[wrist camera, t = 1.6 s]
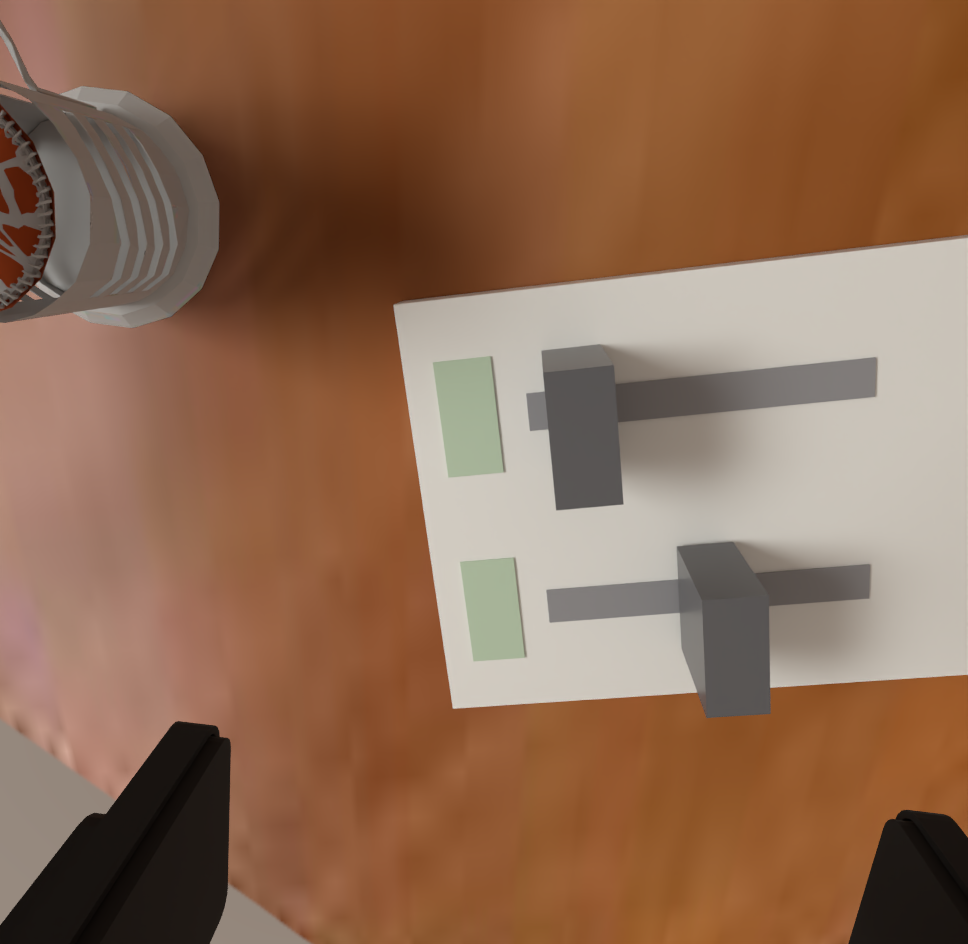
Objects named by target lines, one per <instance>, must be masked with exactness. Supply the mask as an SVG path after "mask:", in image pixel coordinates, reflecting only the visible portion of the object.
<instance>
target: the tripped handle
mask: <svg viewBox="0 0 968 944" xmlns="http://www.w3.org/2000/svg"><path fill="white" fill-rule="evenodd" d="M677 566H678V586H679V607H680V627H681V647H682V651H683V654H684V657H685V660H686V662H687V665H688V668H689V671H690V673H691V676H692V679H693V682H694V684H695V687H696V690H697V693H698V695H699V698H700V701H701V704H702V706H703V709H704V712H705V715H706V717H707V718H711V717H727V716H743V715H759V714H770V639H769V595H768V593H767V592H766V590H765V589H764V587H763V586H762V584H761V583H760V581H759V580H758V578H757V577H756V575H755V574H754V572H753V571H752V569H751V568H750V566H749V565H748V563H747V562H746V560H745V559H744V557H743V556H742V554H741V553H740V551H739V550H738V548H737V547H736V545H735V544H734V542H723V543H711V544H699V545H687V546H677Z"/></svg>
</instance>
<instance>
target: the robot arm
mask: <svg viewBox="0 0 968 944" xmlns="http://www.w3.org/2000/svg"><path fill="white" fill-rule="evenodd" d="M230 756H231V744H230V740H229V739H228V738H223V737H219V730H218V727H216V726H213V725H205V724H197V723H188V722H180V721H178V722H175V723H174V724H173V725H172V726H171V727H170V729H169V730H168V731H167V733H166V734H165V735H164V737H163V738H162V739H161V741H160V742H159V743H158V745H157V746H156V747H155V749H154V750H153V751H152V753H151V754H150V755H149V757H148V758H147V760H146V761H145V762H144V764H143V765H142V766H141V768H140V769H139V770H138V772H137V773H136V774H135V776H134V777H133V778H132V780H131V781H130V782H129V784H128V785H127V786H126V788H125V789H124V790H123V792H122V793H121V795H120V796H119V797H118V799H117V800H116V801H115V803H114V804H113V805H112V807H111V808H110V809H109V811H108V812H107V813H106V814H99V813H93V814H91V815H89V816H87V817H86V818H85V819H84V820H83V821H82V822H81V823H80V824H79V825H78V826H77V827H76V829H75V830H74V831H73V832H72V834H71V835H70V836H69V838H68V839H67V840H66V842H65V843H64V844H63V845H62V847H61V848H60V849H59V851H58V852H57V853H56V854H55V856H54V857H53V858H52V860H51V861H50V862H49V863H48V865H47V866H46V867H45V868H44V870H43V871H42V872H41V874H40V875H39V876H38V878H37V879H36V880H35V881H34V883H33V884H32V885H31V886H30V888H29V889H28V890H27V892H26V893H25V894H24V896H23V897H22V898H21V899H20V901H19V902H18V903H17V905H16V906H15V907H14V908H13V910H12V911H11V912H10V913H9V915H8V916H7V917H6V919H5V920H4V921H3V922H2V924H1V925H0V944H210V941H211V939H212V937H213V935H214V932H215V930H216V928H217V926H218V924H219V921H220V919H221V916H222V913H223V910H224V907H225V902H226V897H227V889H228V848H229V802H230ZM849 944H968V837H967V836H966V835H965V834H964V832H963V831H962V830H961V828H960V827H959V826H958V825H957V823H956V822H955V821H954V820H953V819H952V818H951V817H949V816H947V815H944V814H937V813H928V812H920V811H912V810H903V811H901V812H900V813H899V814H898V815H897V817H896V819H890V820H888V821H887V822H886V824H885V826H884V828H883V831H882V835H881V838H880V841H879V845H878V848H877V851H876V855H875V858H874V861H873V864H872V868H871V871H870V874H869V878H868V881H867V884H866V888H865V891H864V894H863V897H862V901H861V904H860V907H859V911H858V914H857V917H856V921H855V924H854V927H853V930H852V934H851V937H850V940H849Z"/></svg>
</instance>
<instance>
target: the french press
mask: <svg viewBox="0 0 968 944" xmlns="http://www.w3.org/2000/svg"><path fill="white" fill-rule="evenodd" d="M0 36H1V37H2V39H3V40H4V42H5V44H6V46H7V48H8V50H9V51H10V53H11V55H12V57H13V59H14V61H15V63H16V65H17V67H18V69H19V71H20V73H21V75H22V77H23V79H24V81H25V83H26V84H27V86H28V87H29V89H26V88H23V87H20V86H16V85H13V84H10V83H6V82H3V81H0V87H2V88H5V89H9V90H12V91H14V92H16V93H18V94H20V95H22V96H23V97H25V98H27V99H29V100H30V101H31V102H32V103H30V102H27V101H23V100H20V99H16V98H13V97H9V96H6V95H2V94H0V322H3V323H6V322H13V321H20V320H26V319H33V318H40V317H46V316H53V315H60V314H66V313H74V314H76V315H78V316H79V317H81V318H83V319H85V320H87V321H89V322H90V323H97V324H105V325H113V326H121V327H129V328H134V327H138V326H141V325H144V324H148V323H151V322H154V321H158V320H161V319H164V318H168V317H171V316H172V315H173V314H175V313H176V312H177V311H178V310H179V309H180V308H181V307H182V306H183V305H185V304H186V303H187V302H188V301H189V300H190V299H191V298H192V297H193V296H195V295H196V294H197V293H198V292H199V291H200V290H201V289H202V287H203V285H204V282H205V280H206V278H207V275H208V273H209V271H210V268H211V266H212V264H213V261H214V259H215V257H216V254H217V252H218V250H219V200H218V197H217V194H216V191H215V189H214V186H213V183H212V180H211V177H210V175H209V172H208V169H207V166H206V163H205V161H204V158H203V155H202V154H201V153H200V152H199V150H198V149H197V148H196V147H195V145H194V144H193V143H192V142H191V141H190V139H189V138H188V137H187V136H186V134H185V133H184V132H183V131H182V130H181V128H180V127H179V126H178V125H177V123H176V122H175V121H174V120H173V119H172V117H171V116H169V115H168V114H166V113H164V112H162V111H161V110H159V109H157V108H156V107H154V106H152V105H150V104H149V103H147V102H145V101H143V100H142V99H140V98H138V97H137V96H135V95H133V94H131V93H130V92H127V91H119V90H110V89H102V88H94V87H85V86H81V87H78V88H76V89H73V90H70V91H67V92H64V93H61V94H56V93H53V92H50V91H47V90H44V89H41V88H38V87H37V85H36V84H35V83H34V81H33V80H32V79H31V77H30V76H29V74H28V71H27V69H26V67H25V65H24V63H23V61H22V59H21V57H20V55H19V52H18V50H17V48H16V46H15V44H14V42H13V40H12V38H11V37H10V35H9V33H8V32H7V30H6V29H5V27H4V25H3V24H2V22H1V21H0ZM35 284H36V285H37V286H38V287H39V288H40V289H41V290H40V289H39V288H37V287H36V286H34V285H35ZM29 290H30V291H31V292H33V293H34V294H36V295H38V296H39V297H41V298H43V299H39V300H34V299H32V298H31V297H29V296H28V295H26V293H27V292H28V291H29ZM20 299H21V300H22V302H18V301H19V300H20Z"/></svg>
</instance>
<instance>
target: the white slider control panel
mask: <svg viewBox="0 0 968 944" xmlns="http://www.w3.org/2000/svg"><path fill="white" fill-rule="evenodd" d="M393 306H394V313H395V320H396V326H397V333H398V340H399V347H400V353H401V360H402V367H403V374H404V381H405V387H406V394H407V401H408V408H409V414H410V421H411V428H412V435H413V441H414V448H415V455H416V462H417V468H418V475H419V482H420V489H421V496H422V502H423V509H424V516H425V523H426V529H427V536H428V543H429V550H430V556H431V563H432V570H433V577H434V583H435V590H436V597H437V604H438V611H439V617H440V624H441V631H442V638H443V644H444V651H445V658H446V665H447V671H448V678H449V685H450V692H451V698H452V705H453V709H454V708H469V707H484V706H499V705H514V704H529V703H545V702H560V701H575V700H590V699H605V698H620V697H636V696H651V695H666V694H681V693H696V692H697V690H696V687H695V684H694V682H693V679H692V676H691V673H690V671H689V668H688V665H687V662H686V660H685V657H684V654H683V651H682V647H681V627H680V607H679V586H678V566H677V546H687V545H699V544H711V543H723V542H734V544H735V545H736V547H737V548H738V550H739V551H740V553H741V554H742V556H743V557H744V559H745V560H746V562H747V563H748V565H749V566H750V568H751V569H752V571H753V572H754V574H755V575H756V577H757V578H758V580H759V581H760V583H761V584H762V586H763V587H764V589H765V590H766V592H767V593H768V595H769V639H770V688H772V687H787V686H802V685H817V684H833V683H848V682H863V681H878V680H893V679H908V678H924V677H939V676H954V675H968V235H963V236H955V237H946V238H937V239H929V240H920V241H912V242H903V243H895V244H886V245H878V246H869V247H860V248H852V249H843V250H835V251H826V252H818V253H809V254H801V255H792V256H783V257H775V258H766V259H758V260H749V261H741V262H732V263H724V264H715V265H706V266H698V267H689V268H681V269H672V270H664V271H655V272H647V273H638V274H629V275H621V276H612V277H604V278H595V279H587V280H578V281H570V282H561V283H552V284H544V285H535V286H527V287H518V288H510V289H501V290H493V291H484V292H475V293H467V294H458V295H450V296H441V297H433V298H424V299H416V300H407V301H401V302H398V303H396V304H394V305H393Z"/></svg>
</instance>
